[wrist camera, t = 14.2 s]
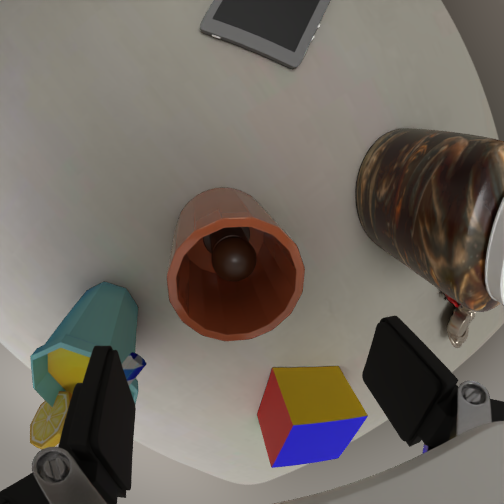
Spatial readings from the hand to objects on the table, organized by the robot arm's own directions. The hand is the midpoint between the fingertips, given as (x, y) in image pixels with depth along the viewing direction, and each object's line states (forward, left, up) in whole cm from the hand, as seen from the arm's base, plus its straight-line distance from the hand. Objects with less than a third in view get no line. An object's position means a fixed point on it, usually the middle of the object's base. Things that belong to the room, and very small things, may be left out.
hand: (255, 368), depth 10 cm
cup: (-9, -6, -16) cm, 19 cm away
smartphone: (+5, +21, -16) cm, 27 cm away
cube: (+8, -20, -16) cm, 27 cm away
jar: (+17, +3, -16) cm, 24 cm away
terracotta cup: (0, 0, -16) cm, 16 cm away
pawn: (+1, 0, -15) cm, 15 cm away
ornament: (+31, -12, -12) cm, 35 cm away
